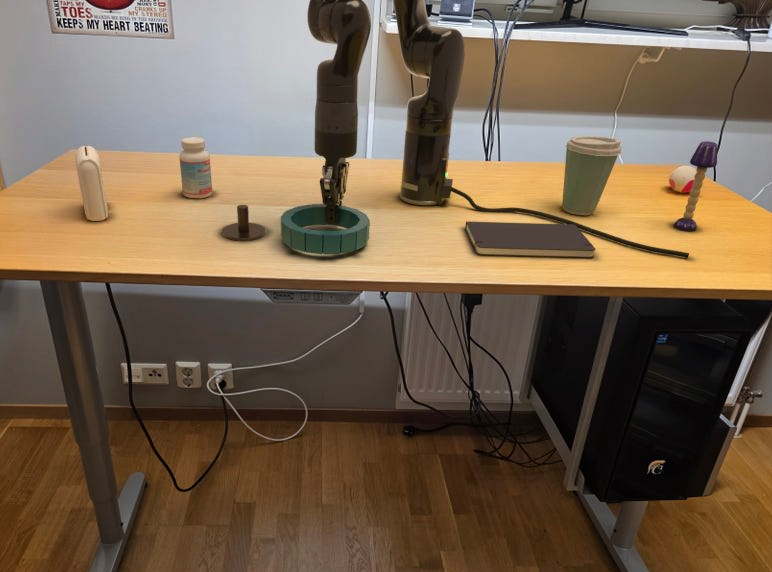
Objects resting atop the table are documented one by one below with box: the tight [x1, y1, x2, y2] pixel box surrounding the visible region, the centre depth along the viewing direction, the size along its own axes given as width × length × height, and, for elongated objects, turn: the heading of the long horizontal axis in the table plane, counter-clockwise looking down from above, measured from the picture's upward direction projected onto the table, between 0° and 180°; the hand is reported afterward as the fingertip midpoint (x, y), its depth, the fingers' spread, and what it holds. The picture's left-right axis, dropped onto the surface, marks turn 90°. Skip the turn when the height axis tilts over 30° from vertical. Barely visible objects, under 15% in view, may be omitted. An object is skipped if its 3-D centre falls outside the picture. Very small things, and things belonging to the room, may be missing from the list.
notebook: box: [464, 221, 596, 259], centre depth 121 cm, size 13×2×21 cm
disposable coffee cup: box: [561, 135, 622, 216], centre depth 134 cm, size 11×11×15 cm
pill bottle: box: [178, 136, 213, 199], centre depth 135 cm, size 6×6×11 cm
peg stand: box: [221, 204, 267, 242], centre depth 119 cm, size 8×8×5 cm
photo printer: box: [74, 145, 109, 222], centre depth 123 cm, size 10×4×12 cm, turn 20°
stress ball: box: [668, 165, 697, 194], centre depth 151 cm, size 8×8×7 cm
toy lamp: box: [673, 140, 718, 232], centre depth 127 cm, size 5×5×17 cm
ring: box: [280, 203, 371, 255], centre depth 117 cm, size 16×16×4 cm
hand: (333, 221), depth 123 cm, fingers closed on ring, 2 cm apart
